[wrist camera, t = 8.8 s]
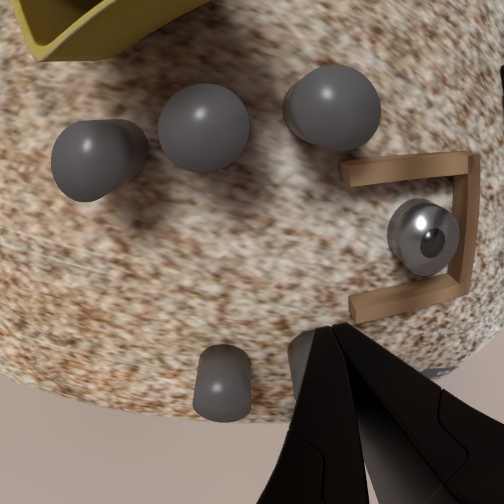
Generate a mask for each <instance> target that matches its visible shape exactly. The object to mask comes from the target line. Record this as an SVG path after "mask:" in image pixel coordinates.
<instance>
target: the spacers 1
mask: <svg viewBox="0 0 504 504" xmlns="http://www.w3.org/2000/svg"><path fill="white" fill-rule="evenodd" d="M283 116H284V120H285V122H286V124H287V126H288V128H289V129H290V131H291V132H292V133H293V134H294V135H296V136H297V137H298V138H300V139H302V140H304V141H306V142H309V143H312V144H315V145H318V146H321V147H324V148H327V149H330V150H335V151H348V150H352V149H356V148H358V147H360V146H362V145H363V144H365V143H366V142H367V141H368V140H370V138H371V137H372V136H373V135H374V133H375V132H376V130H377V128H378V125H379V122H380V117H381V105H380V100H379V97H378V94H377V92H376V90H375V88H374V86H373V85H372V83H371V82H370V81H369V80H368V79H367V78H366V77H365V76H364V75H363V74H361V73H360V72H358V71H357V70H355V69H353V68H350V67H347V66H344V65H326V66H322V67H319V68H317V69H315V70H313V71H312V72H310V73H309V74H307V75H306V76H305V77H303V78H302V79H301V80H299V81H298V82H297V83H295V84H294V85H293V86H292V87H291V88H290V89H289V90H288V92H287V93H286V95H285V98H284V101H283ZM249 132H250V122H249V116H248V112H247V110H246V108H245V106H244V104H243V102H242V101H241V100H240V99H239V97H238V96H236V95H235V94H234V93H233V92H232V91H230V90H229V89H227V88H225V87H223V86H220V85H216V84H211V83H199V84H194V85H190V86H187V87H185V88H183V89H181V90H180V91H178V92H177V93H175V94H174V95H173V96H172V97H171V98H170V99H169V100H168V101H167V103H166V104H165V106H164V107H163V109H162V111H161V114H160V117H159V121H158V138H159V142H160V145H161V147H162V149H163V151H164V152H165V154H166V155H167V157H168V158H169V159H170V160H171V161H172V162H173V163H175V164H176V165H177V166H179V167H181V168H183V169H185V170H188V171H191V172H197V173H208V172H214V171H217V170H220V169H222V168H224V167H226V166H228V165H229V164H231V163H232V162H233V161H234V160H236V159H237V158H238V156H239V155H240V154H241V153H242V151H243V149H244V148H245V146H246V143H247V141H248V137H249ZM147 156H148V144H147V140H146V137H145V135H144V133H143V132H142V130H141V129H140V128H139V127H138V126H137V125H136V124H134V123H133V122H131V121H128V120H124V119H110V120H90V121H80V122H76V123H74V124H72V125H70V126H68V127H67V128H66V129H65V130H64V131H63V132H62V133H61V134H60V135H59V137H58V138H57V140H56V142H55V144H54V147H53V151H52V156H51V168H52V174H53V177H54V179H55V182H56V184H57V185H58V187H59V188H60V190H61V191H62V192H63V193H64V194H65V195H66V196H68V197H69V198H71V199H73V200H75V201H79V202H92V201H95V200H98V199H100V198H101V197H103V196H105V195H106V194H108V193H110V192H111V191H113V190H115V189H116V188H118V187H120V186H122V185H123V184H125V183H127V182H128V181H130V180H132V179H133V178H135V177H136V176H137V175H138V174H139V173H140V172H141V171H142V169H143V168H144V166H145V163H146V160H147Z"/></svg>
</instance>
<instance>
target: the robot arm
mask: <svg viewBox="0 0 504 504" xmlns="http://www.w3.org/2000/svg"><path fill="white" fill-rule="evenodd" d="M501 73H502V79H503V86H504V65H502V66H501ZM364 462H365V465H366V468H367V471H368V474H369V476H370V479H371V482H372V485H373V488H374V490H375V494H376V497H377V499H378V502H379V504H504V424H502V423H500V422H499V421H497V420H494V419H493V418H491V417H489V416H487V415H485V414H483V413H481V412H480V411H478V410H476V409H474V408H472V407H470V406H469V405H468V404H466V403H464V402H463V401H461V400H459V399H458V398H457V397H455V396H454V395H452V394H451V393H449V392H448V391H446V390H445V389H442V390H441V387H440V386H439V385H437V384H436V383H434V382H433V381H431V380H430V379H429V378H427V377H426V376H424V375H423V374H421V373H420V372H418V371H417V370H415V369H414V368H413V367H411V366H410V365H408V364H407V363H405V362H404V361H402V360H401V359H399V358H398V357H397V356H395V355H394V354H392V353H391V352H389V351H388V350H386V349H385V348H383V347H382V346H381V345H379V344H378V343H376V342H375V341H373V340H372V339H370V338H369V337H368V336H366V335H365V334H363V333H362V332H360V331H359V330H357V329H356V328H354V327H353V326H352V325H350V324H349V323H347V322H343V323H338V324H333V325H332V326H331V327H330V326H324V327H318V328H315V329H314V332H313V337H312V341H311V345H310V349H309V354H308V358H307V362H306V366H305V370H304V374H303V378H302V382H301V385H300V389H299V393H298V397H297V400H296V404H295V408H294V411H293V415H292V418H291V422H290V425H289V430H288V432H287V435H286V438H285V441H284V444H283V447H282V450H281V453H280V456H279V458H278V461H277V464H276V466H275V468H274V470H273V472H272V475H271V477H270V479H269V481H268V483H267V485H266V487H265V489H264V490H263V492H262V494H261V496H260V498H259V500H258V501H257V503H256V504H369V495H368V488H367V480H366V473H365V465H364Z"/></svg>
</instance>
